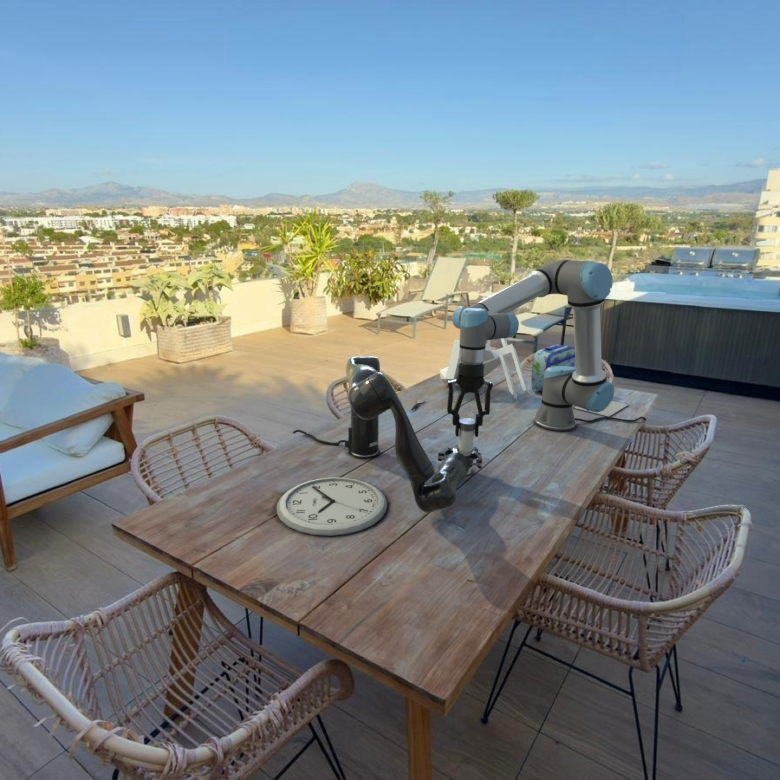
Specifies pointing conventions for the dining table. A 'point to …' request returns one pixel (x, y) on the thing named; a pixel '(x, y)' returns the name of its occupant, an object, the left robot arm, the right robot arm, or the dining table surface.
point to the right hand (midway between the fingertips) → (466, 435)
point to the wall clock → (331, 506)
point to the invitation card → (608, 408)
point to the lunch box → (550, 362)
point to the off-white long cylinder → (466, 443)
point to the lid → (467, 424)
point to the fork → (418, 402)
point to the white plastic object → (488, 364)
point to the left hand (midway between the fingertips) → (467, 448)
